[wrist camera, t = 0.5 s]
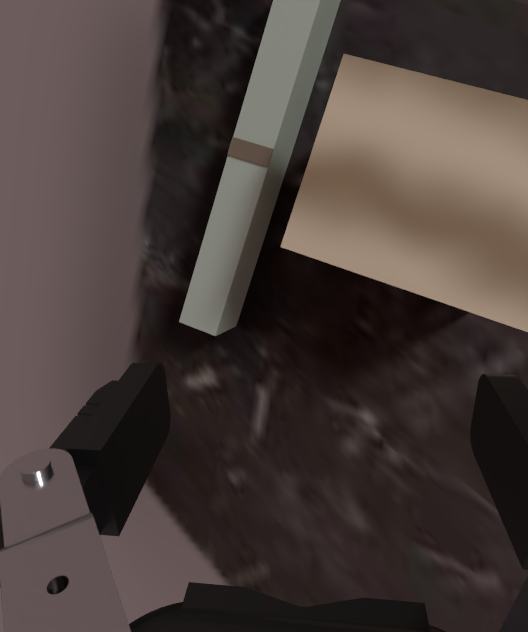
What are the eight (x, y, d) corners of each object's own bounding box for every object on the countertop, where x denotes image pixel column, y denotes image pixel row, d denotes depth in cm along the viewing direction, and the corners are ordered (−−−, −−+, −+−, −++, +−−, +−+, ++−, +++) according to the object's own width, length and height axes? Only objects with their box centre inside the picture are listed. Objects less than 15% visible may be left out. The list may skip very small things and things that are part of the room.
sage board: (304, -18, 35) (290, -63, 30) (343, -9, 34) (336, -53, 29) (204, 313, 40) (178, 322, 35) (236, 326, 39) (214, 336, 34)
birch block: (358, 119, 35) (343, 53, 24) (539, 170, 33) (622, 124, 21) (313, 249, 37) (280, 246, 26) (480, 306, 35) (527, 332, 23)
